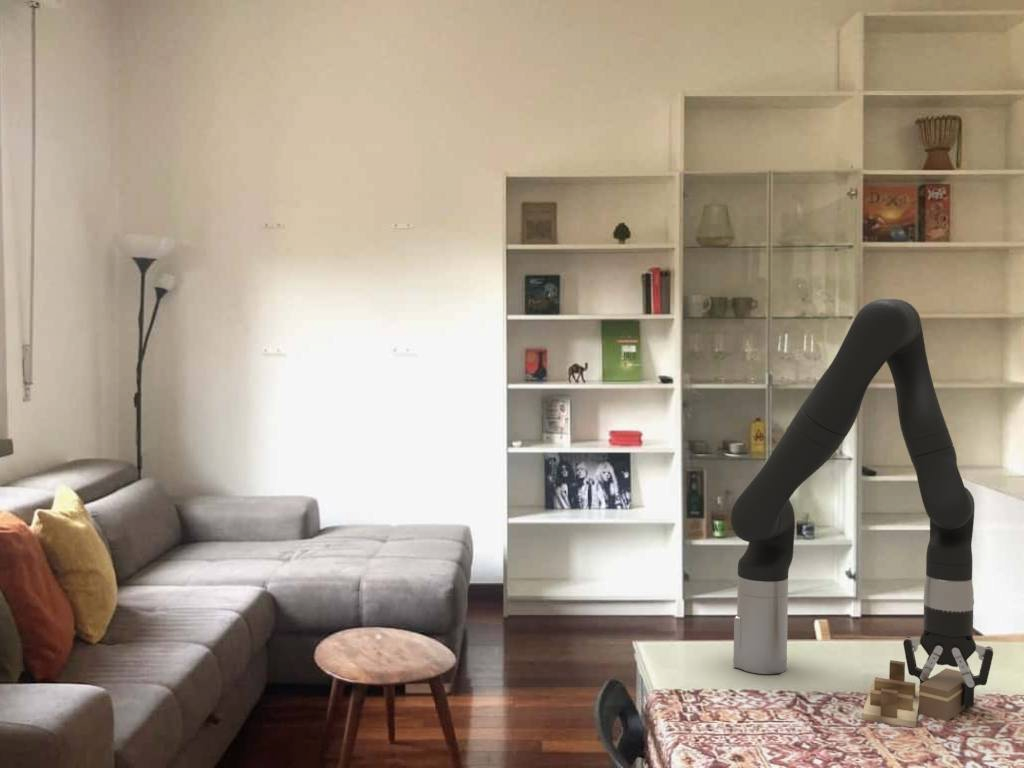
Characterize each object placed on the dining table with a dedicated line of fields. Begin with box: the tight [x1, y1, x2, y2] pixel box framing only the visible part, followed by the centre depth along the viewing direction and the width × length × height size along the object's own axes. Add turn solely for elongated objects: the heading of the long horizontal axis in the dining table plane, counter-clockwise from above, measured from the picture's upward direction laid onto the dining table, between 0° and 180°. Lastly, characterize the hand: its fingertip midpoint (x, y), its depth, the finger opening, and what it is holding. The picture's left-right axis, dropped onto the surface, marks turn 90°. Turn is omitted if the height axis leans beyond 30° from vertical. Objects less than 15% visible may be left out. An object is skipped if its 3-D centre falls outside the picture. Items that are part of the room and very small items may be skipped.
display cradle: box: [861, 660, 919, 729], centre depth 163 cm, size 8×18×5 cm, turn 154°
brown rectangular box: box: [918, 667, 975, 722], centre depth 162 cm, size 5×12×5 cm, turn 137°
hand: (946, 704), depth 162 cm, fingers closed on brown rectangular box, 5 cm apart
